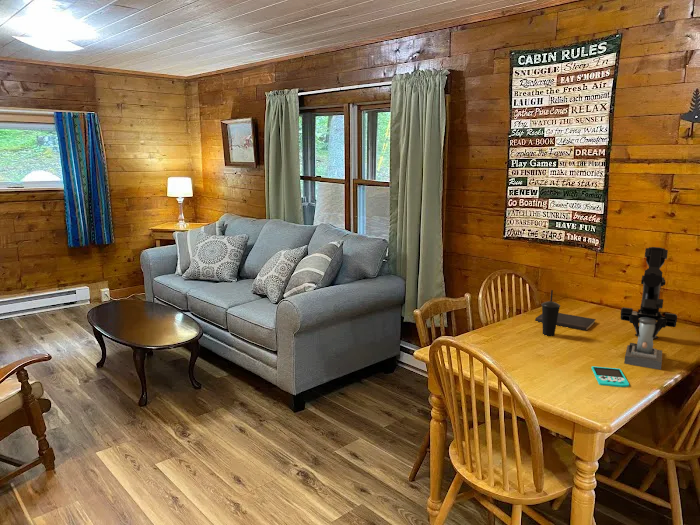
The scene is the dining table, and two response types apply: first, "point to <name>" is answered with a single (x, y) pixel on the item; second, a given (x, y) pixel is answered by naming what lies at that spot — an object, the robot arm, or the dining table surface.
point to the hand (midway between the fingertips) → (645, 336)
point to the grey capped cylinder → (646, 335)
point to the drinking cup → (549, 316)
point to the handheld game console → (610, 376)
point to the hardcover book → (571, 321)
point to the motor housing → (643, 357)
